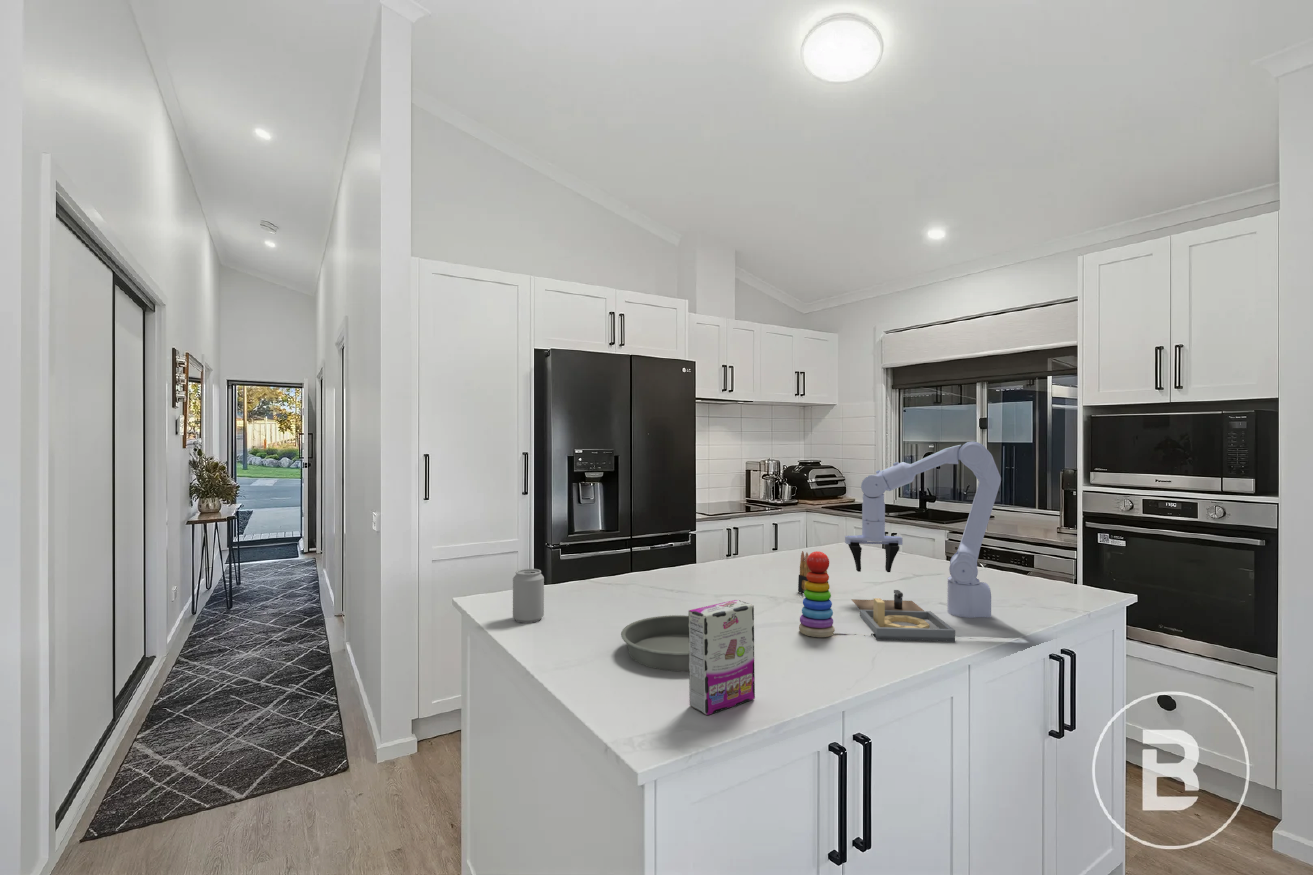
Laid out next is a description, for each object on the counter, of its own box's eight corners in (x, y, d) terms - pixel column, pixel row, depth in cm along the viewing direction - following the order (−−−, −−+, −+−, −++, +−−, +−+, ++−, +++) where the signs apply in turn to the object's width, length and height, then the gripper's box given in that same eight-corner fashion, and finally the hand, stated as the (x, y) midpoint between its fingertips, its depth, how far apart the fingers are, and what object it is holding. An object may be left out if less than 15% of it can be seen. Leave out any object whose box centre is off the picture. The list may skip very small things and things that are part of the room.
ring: (919, 620, 152) (919, 595, 152) (934, 633, 142) (934, 607, 142) (869, 619, 153) (869, 594, 153) (881, 632, 143) (881, 606, 143)
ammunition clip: (829, 599, 174) (829, 556, 174) (824, 600, 173) (824, 557, 173) (802, 591, 183) (802, 550, 183) (797, 592, 182) (798, 550, 182)
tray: (930, 621, 154) (930, 611, 154) (955, 641, 139) (955, 630, 139) (859, 619, 155) (859, 609, 155) (876, 639, 140) (876, 628, 140)
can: (547, 615, 158) (547, 567, 158) (538, 624, 151) (539, 574, 151) (518, 614, 159) (518, 567, 159) (508, 623, 151) (508, 573, 151)
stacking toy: (836, 639, 140) (836, 555, 140) (799, 637, 141) (799, 554, 141) (833, 629, 148) (833, 549, 148) (798, 626, 149) (798, 548, 149)
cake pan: (606, 641, 139) (606, 621, 139) (707, 629, 148) (707, 610, 148) (643, 682, 116) (643, 658, 116) (760, 665, 125) (760, 643, 125)
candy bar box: (735, 690, 112) (736, 598, 112) (755, 699, 108) (756, 604, 108) (686, 705, 106) (687, 608, 106) (706, 716, 102) (706, 615, 102)
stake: (900, 606, 163) (900, 590, 163) (904, 610, 160) (904, 593, 160) (892, 606, 164) (892, 589, 164) (896, 610, 160) (896, 593, 160)
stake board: (911, 604, 169) (911, 600, 169) (930, 619, 155) (930, 615, 155) (851, 602, 170) (851, 599, 170) (864, 618, 156) (864, 614, 156)
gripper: (896, 518, 170) (896, 568, 170) (842, 517, 171) (842, 567, 172) (905, 522, 163) (904, 574, 163) (848, 521, 164) (848, 573, 165)
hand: (873, 571), depth 167 cm, fingers open, 7 cm apart
